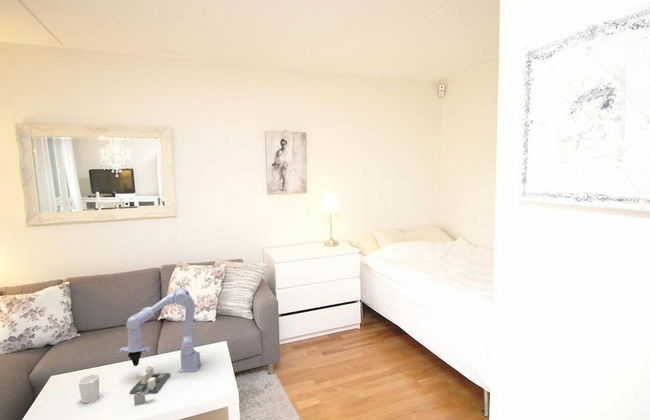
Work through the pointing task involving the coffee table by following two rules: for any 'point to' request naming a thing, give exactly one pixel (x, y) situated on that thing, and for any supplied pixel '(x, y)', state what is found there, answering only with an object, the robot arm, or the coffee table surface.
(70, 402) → the coffee table surface
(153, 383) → the switch
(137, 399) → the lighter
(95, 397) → the white cup
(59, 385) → the coffee table surface
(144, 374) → the switch
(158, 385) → the switch unit
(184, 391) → the coffee table surface
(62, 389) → the coffee table surface
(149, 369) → the switch
